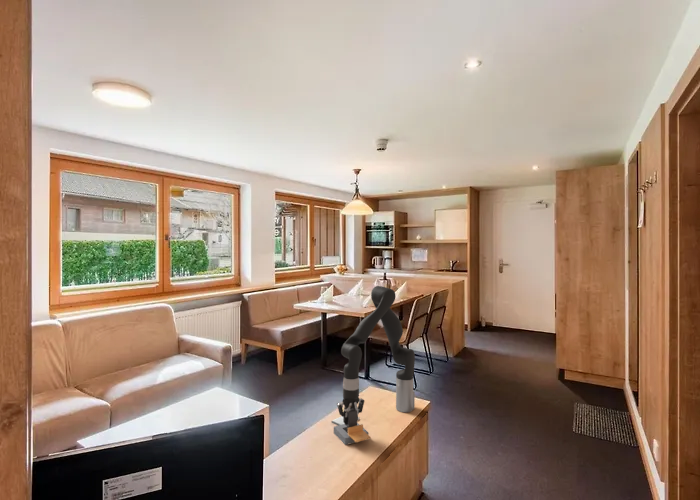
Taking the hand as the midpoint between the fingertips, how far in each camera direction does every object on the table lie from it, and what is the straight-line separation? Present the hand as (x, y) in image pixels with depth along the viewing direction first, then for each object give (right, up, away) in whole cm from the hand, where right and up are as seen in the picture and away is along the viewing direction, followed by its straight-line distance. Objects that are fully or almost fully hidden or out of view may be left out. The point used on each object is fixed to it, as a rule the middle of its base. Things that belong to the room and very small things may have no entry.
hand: (350, 422), depth 173 cm
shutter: (+4, -3, -7) cm, 8 cm away
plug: (0, -2, 0) cm, 2 cm away
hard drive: (-3, -7, +15) cm, 17 cm away
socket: (0, -6, 0) cm, 6 cm away
